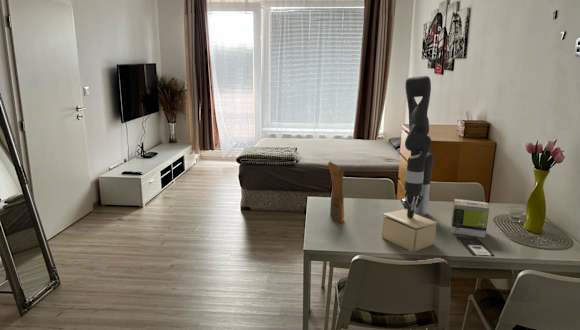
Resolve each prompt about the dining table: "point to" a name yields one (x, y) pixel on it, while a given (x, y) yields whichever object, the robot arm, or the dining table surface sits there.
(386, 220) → the carton
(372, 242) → the dining table surface
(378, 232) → the dining table surface
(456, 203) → the tea box
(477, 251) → the chocolate bar
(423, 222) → the carton flap
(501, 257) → the dining table surface
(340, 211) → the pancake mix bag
